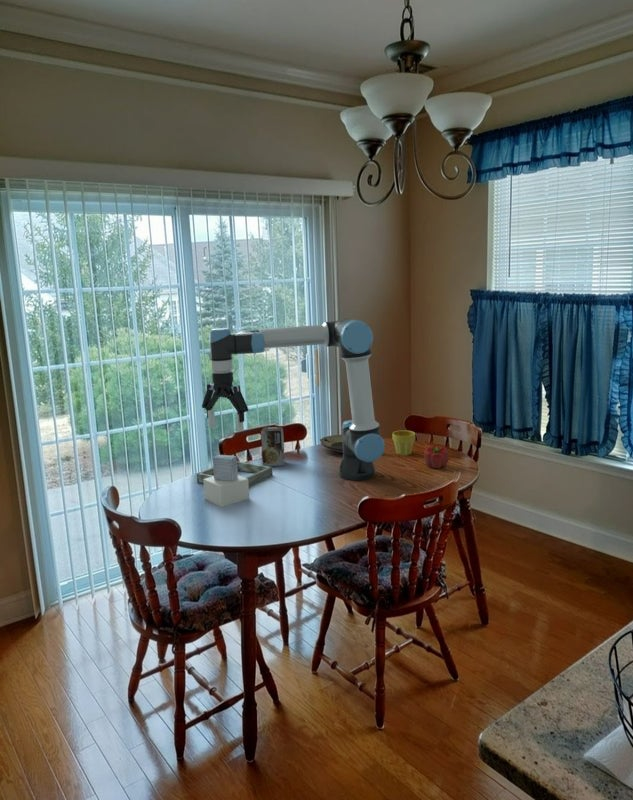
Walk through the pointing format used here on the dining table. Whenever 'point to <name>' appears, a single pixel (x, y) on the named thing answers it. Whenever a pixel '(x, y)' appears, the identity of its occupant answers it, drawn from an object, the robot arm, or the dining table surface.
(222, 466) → the medicine box
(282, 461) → the coffee box
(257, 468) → the bowl tray frame
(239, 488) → the riser block
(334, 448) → the olive brown bowl
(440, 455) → the vegetable
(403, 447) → the plant pot
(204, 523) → the dining table surface
